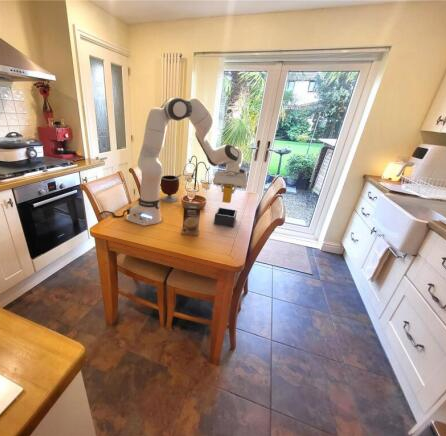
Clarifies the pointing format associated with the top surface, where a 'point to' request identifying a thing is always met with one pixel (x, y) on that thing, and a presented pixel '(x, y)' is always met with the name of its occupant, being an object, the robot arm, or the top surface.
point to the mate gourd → (169, 187)
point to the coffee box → (191, 219)
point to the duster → (227, 193)
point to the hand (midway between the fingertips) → (227, 192)
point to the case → (225, 217)
